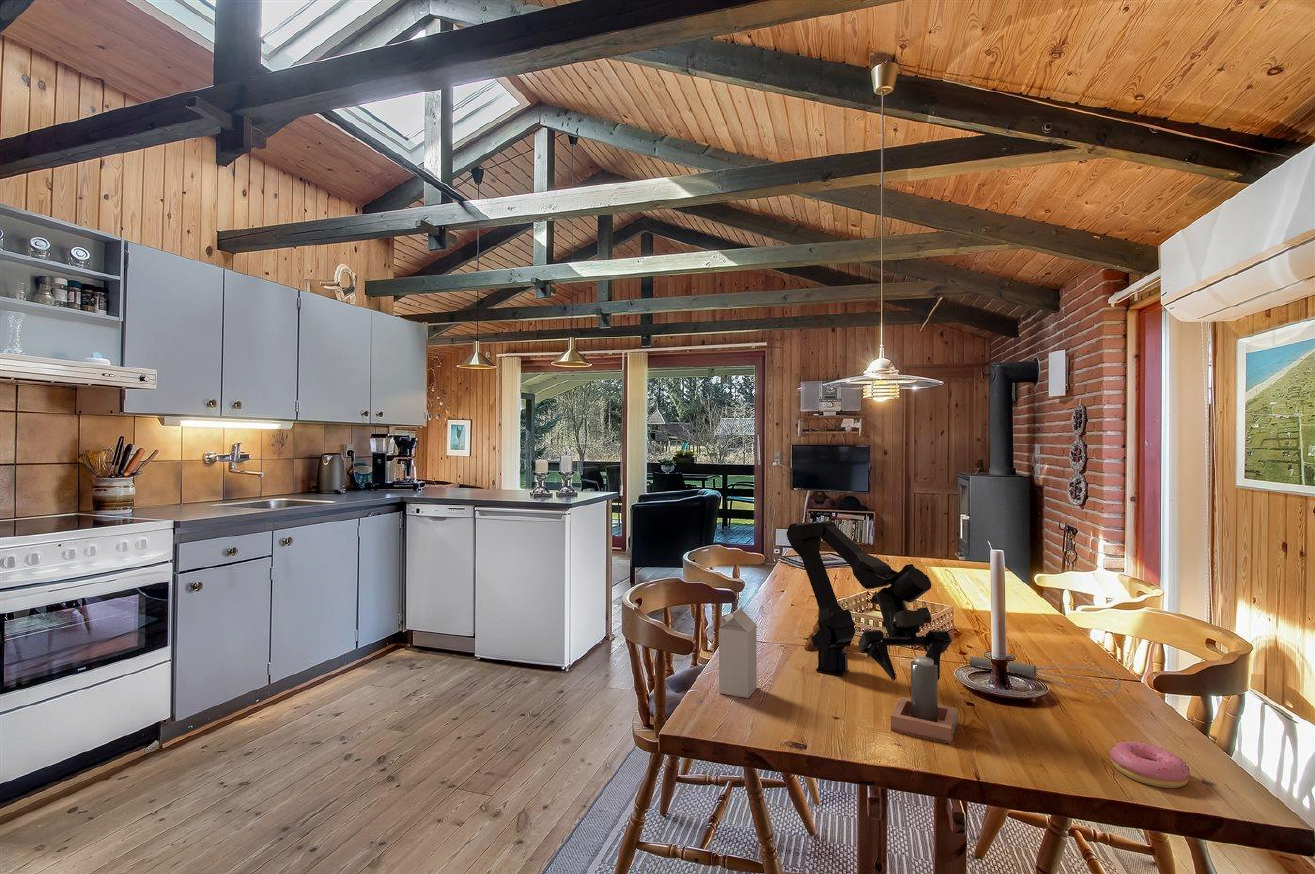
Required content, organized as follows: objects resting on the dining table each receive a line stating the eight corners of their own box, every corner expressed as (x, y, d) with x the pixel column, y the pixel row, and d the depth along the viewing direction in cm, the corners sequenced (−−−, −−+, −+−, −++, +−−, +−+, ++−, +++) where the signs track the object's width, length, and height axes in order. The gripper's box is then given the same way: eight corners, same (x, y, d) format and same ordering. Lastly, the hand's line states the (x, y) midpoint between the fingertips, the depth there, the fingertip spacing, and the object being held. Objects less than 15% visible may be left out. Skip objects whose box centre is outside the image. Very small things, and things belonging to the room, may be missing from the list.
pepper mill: (909, 725, 123) (908, 660, 124) (913, 716, 127) (912, 653, 128) (936, 731, 121) (935, 665, 121) (939, 721, 125) (938, 658, 125)
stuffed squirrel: (802, 650, 171) (802, 603, 172) (817, 637, 184) (817, 593, 184) (838, 656, 166) (837, 608, 167) (851, 643, 178) (850, 598, 179)
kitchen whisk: (964, 661, 164) (964, 637, 164) (1122, 696, 141) (1122, 668, 141) (958, 667, 159) (958, 643, 159) (1119, 704, 136) (1119, 675, 137)
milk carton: (756, 688, 144) (756, 607, 145) (748, 699, 138) (748, 614, 138) (728, 683, 147) (728, 604, 148) (718, 693, 141) (718, 611, 141)
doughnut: (1130, 788, 102) (1130, 763, 102) (1097, 756, 112) (1097, 733, 112) (1206, 796, 99) (1206, 770, 99) (1165, 762, 110) (1164, 739, 110)
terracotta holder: (890, 730, 122) (890, 715, 122) (900, 710, 132) (900, 696, 132) (951, 744, 116) (951, 728, 116) (957, 722, 126) (957, 708, 126)
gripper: (863, 593, 133) (882, 661, 122) (947, 593, 133) (975, 661, 122) (850, 619, 140) (868, 686, 129) (930, 619, 141) (955, 685, 130)
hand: (916, 679), depth 127 cm, fingers open, 9 cm apart
